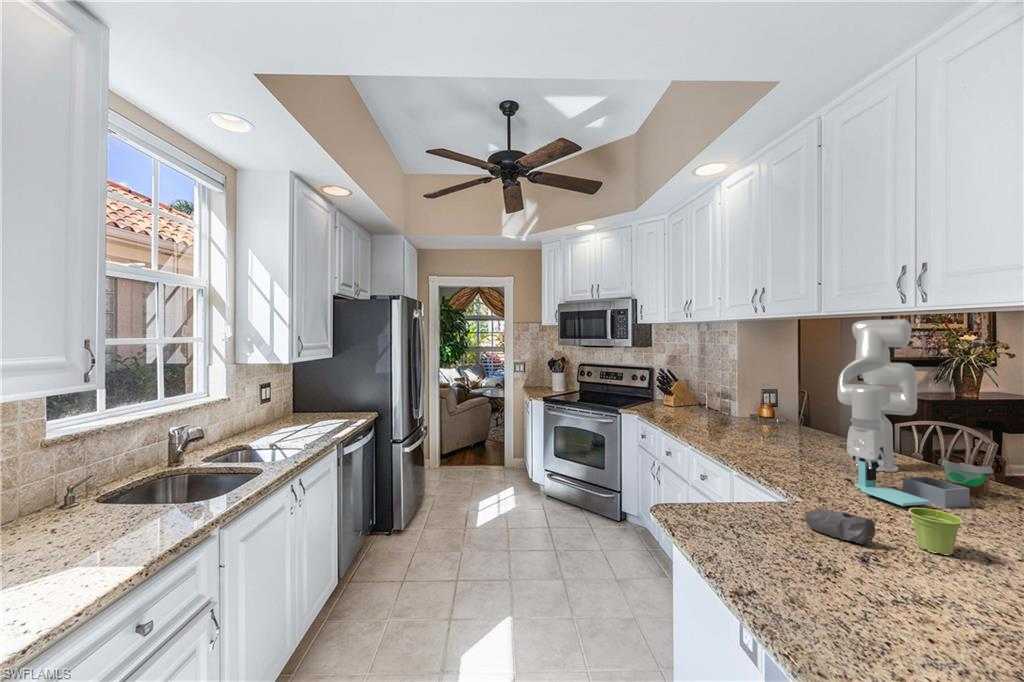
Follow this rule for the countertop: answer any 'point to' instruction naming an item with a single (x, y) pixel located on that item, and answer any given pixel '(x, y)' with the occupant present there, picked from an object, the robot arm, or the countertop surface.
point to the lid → (885, 489)
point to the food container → (968, 476)
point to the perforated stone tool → (841, 525)
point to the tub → (937, 491)
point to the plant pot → (935, 529)
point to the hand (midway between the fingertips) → (866, 478)
